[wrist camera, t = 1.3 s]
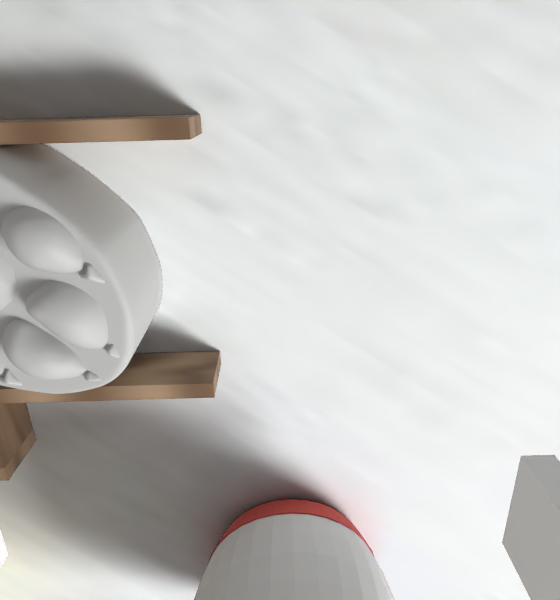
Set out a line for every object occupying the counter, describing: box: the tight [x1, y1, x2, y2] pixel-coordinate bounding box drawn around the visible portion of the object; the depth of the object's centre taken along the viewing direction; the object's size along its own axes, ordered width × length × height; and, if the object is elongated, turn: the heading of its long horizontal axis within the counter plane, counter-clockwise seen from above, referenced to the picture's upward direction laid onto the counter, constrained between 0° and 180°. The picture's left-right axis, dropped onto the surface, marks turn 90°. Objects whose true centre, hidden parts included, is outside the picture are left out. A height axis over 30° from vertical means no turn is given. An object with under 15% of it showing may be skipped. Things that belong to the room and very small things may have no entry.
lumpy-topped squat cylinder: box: [0, 144, 163, 394], centre depth 26 cm, size 10×13×9 cm
